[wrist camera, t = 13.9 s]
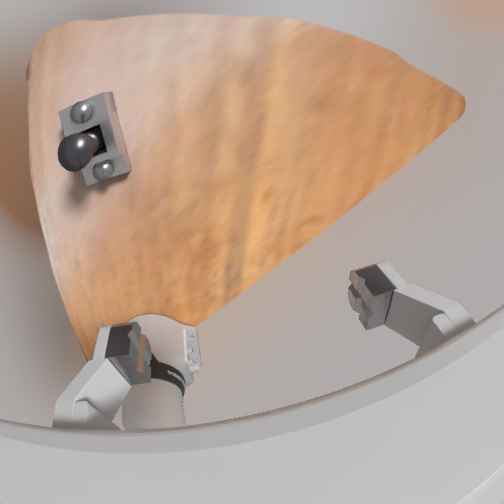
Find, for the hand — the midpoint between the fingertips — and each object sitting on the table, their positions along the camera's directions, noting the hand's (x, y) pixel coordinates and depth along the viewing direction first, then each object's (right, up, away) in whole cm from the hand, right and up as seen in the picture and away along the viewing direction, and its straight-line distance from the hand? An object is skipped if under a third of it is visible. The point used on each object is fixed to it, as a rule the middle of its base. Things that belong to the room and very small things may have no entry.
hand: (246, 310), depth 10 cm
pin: (-22, +18, +23) cm, 37 cm away
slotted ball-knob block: (-22, +18, +23) cm, 37 cm away
